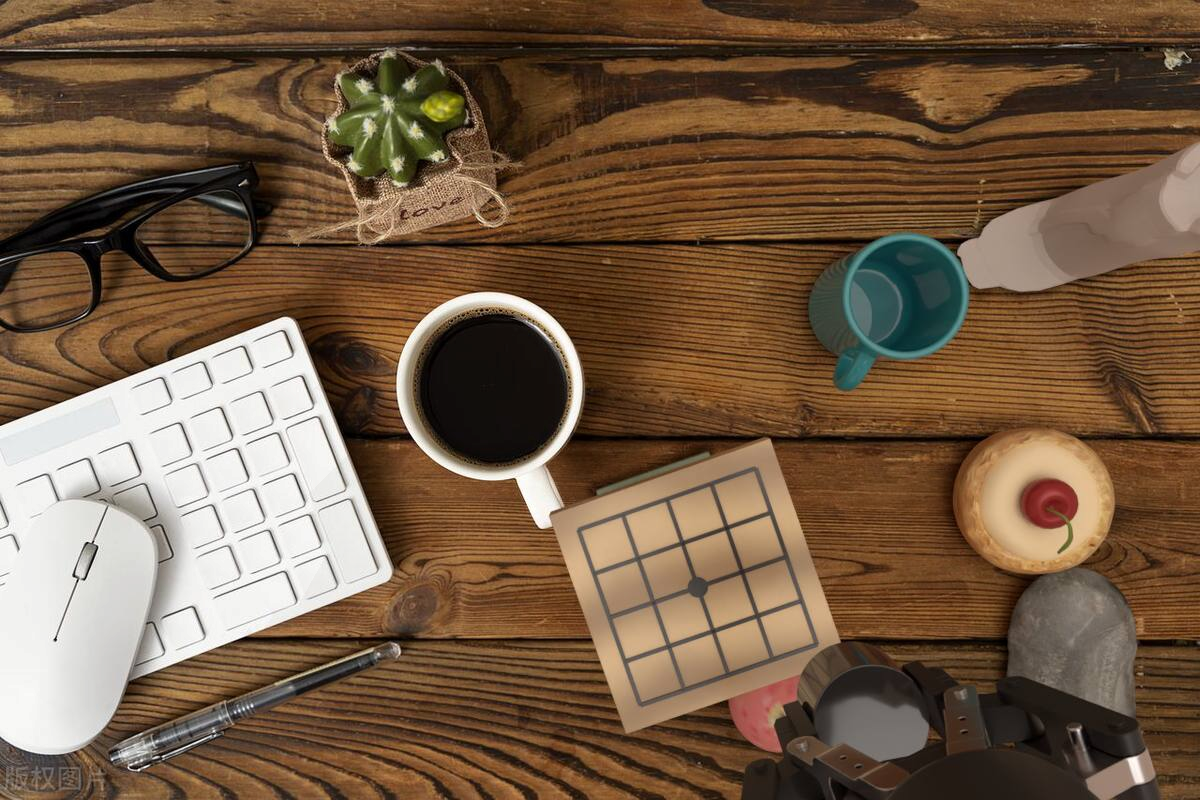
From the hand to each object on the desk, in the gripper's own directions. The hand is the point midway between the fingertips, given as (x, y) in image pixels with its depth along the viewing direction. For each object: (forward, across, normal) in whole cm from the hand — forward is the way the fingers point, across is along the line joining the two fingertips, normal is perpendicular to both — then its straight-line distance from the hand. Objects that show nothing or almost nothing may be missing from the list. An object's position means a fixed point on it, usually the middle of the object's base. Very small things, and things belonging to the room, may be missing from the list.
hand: (856, 703), depth 37 cm
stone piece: (+1, 0, 0) cm, 1 cm away
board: (+36, -5, +3) cm, 36 cm away
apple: (+36, -1, -13) cm, 38 cm away
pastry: (+36, +24, -4) cm, 43 cm away
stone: (+36, +24, -18) cm, 46 cm away
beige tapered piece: (+36, +32, +15) cm, 51 cm away
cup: (+36, +15, +14) cm, 42 cm away
